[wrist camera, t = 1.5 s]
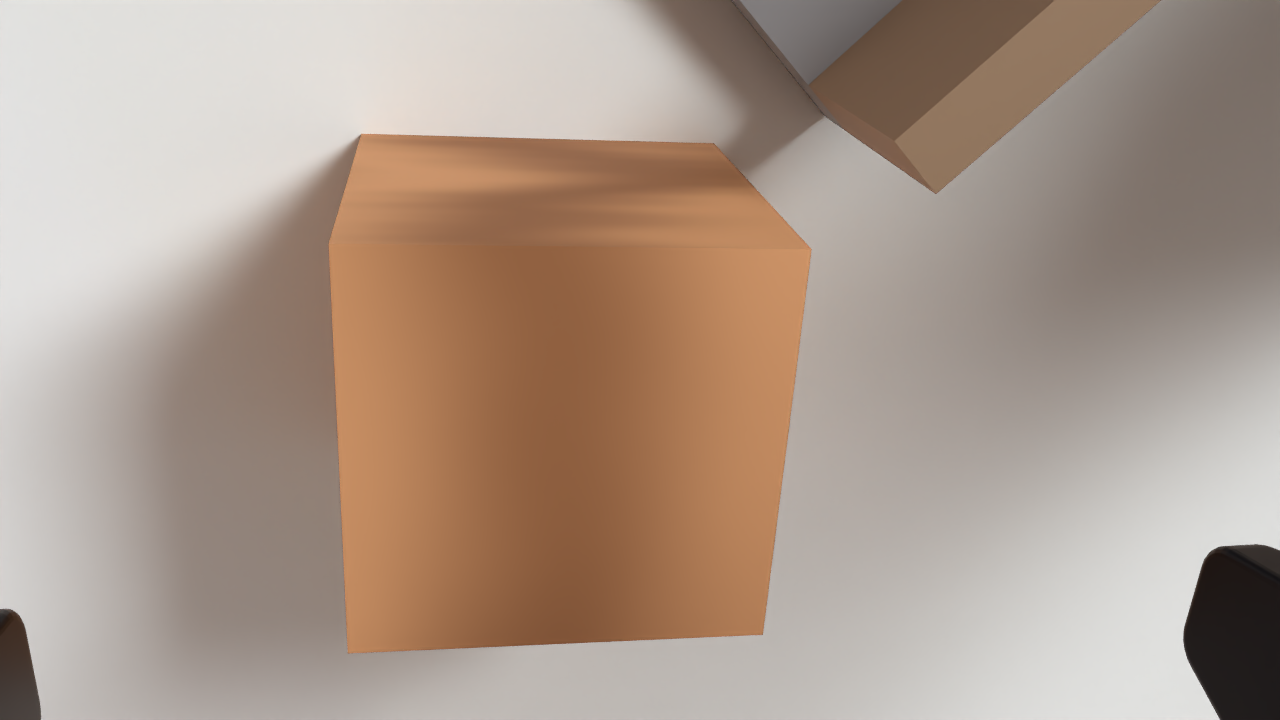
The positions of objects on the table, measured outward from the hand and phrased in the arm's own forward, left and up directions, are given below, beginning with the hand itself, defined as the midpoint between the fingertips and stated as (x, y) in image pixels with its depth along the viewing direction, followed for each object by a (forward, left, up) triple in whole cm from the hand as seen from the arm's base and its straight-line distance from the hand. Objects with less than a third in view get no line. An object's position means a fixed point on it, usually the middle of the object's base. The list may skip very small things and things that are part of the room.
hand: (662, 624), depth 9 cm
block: (-2, +1, -13) cm, 13 cm away
